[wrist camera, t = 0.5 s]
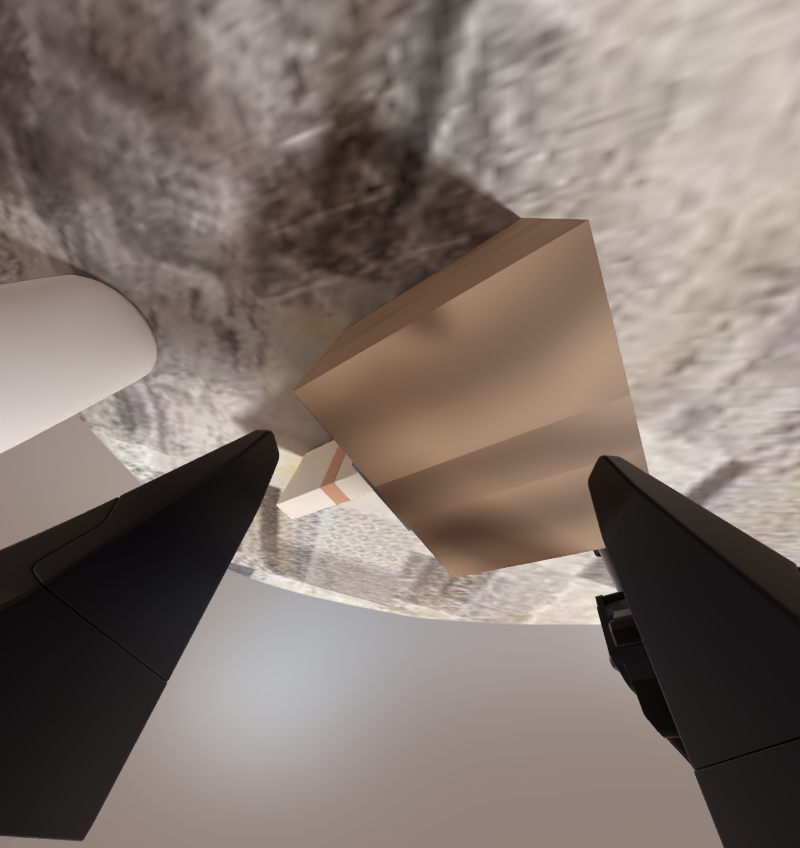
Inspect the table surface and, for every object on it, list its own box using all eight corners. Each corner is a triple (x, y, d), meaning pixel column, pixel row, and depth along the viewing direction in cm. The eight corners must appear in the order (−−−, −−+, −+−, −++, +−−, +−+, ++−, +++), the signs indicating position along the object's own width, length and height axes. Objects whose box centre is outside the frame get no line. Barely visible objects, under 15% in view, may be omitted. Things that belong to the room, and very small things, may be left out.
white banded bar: (482, 396, 22) (493, 449, 17) (319, 466, 28) (292, 520, 23) (471, 375, 21) (480, 424, 16) (305, 452, 27) (275, 505, 22)
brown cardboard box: (593, 434, 23) (663, 536, 16) (444, 483, 28) (445, 579, 20) (521, 218, 16) (588, 219, 9) (339, 333, 21) (283, 397, 13)
